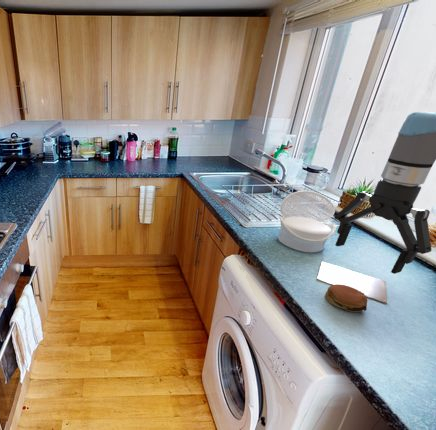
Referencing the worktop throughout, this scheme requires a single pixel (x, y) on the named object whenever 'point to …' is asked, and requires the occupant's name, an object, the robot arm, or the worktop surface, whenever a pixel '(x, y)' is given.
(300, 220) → the plastic deli container
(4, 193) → the worktop surface
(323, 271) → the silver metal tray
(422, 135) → the robot arm
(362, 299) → the burger
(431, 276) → the worktop surface
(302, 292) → the worktop surface
